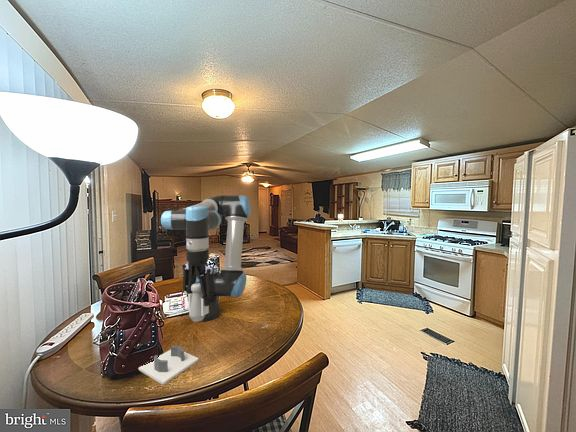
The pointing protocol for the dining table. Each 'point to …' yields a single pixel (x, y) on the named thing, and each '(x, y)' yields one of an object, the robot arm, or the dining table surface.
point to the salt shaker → (196, 303)
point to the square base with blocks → (168, 365)
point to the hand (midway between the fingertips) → (198, 312)
